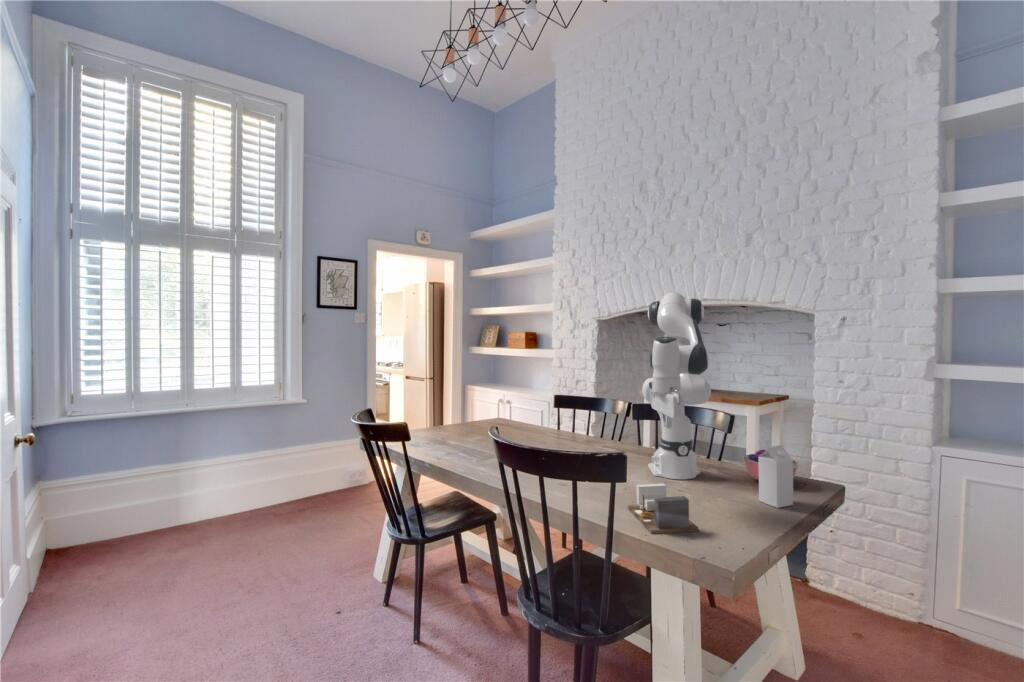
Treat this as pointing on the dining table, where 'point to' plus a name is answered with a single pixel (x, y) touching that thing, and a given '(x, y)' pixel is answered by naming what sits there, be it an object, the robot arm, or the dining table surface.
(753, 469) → the cell model
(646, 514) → the peak needle
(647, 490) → the white bent piece
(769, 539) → the dining table surface
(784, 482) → the milk carton
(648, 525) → the gauge base
